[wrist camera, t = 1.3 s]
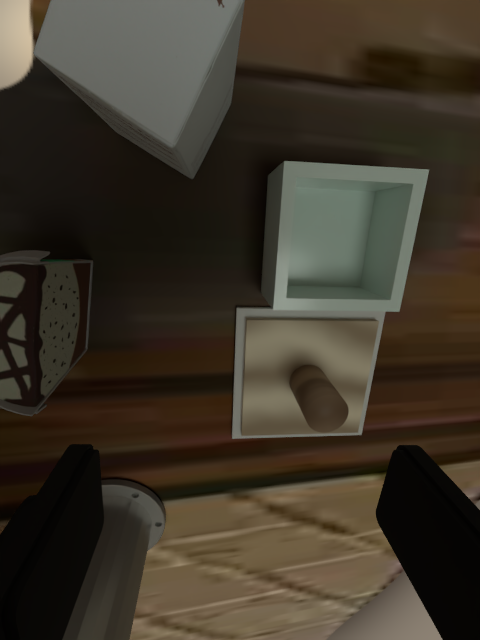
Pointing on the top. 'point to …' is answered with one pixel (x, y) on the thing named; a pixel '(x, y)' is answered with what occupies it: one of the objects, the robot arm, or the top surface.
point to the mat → (270, 313)
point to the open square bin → (339, 235)
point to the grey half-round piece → (40, 325)
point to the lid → (305, 375)
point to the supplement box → (149, 68)
